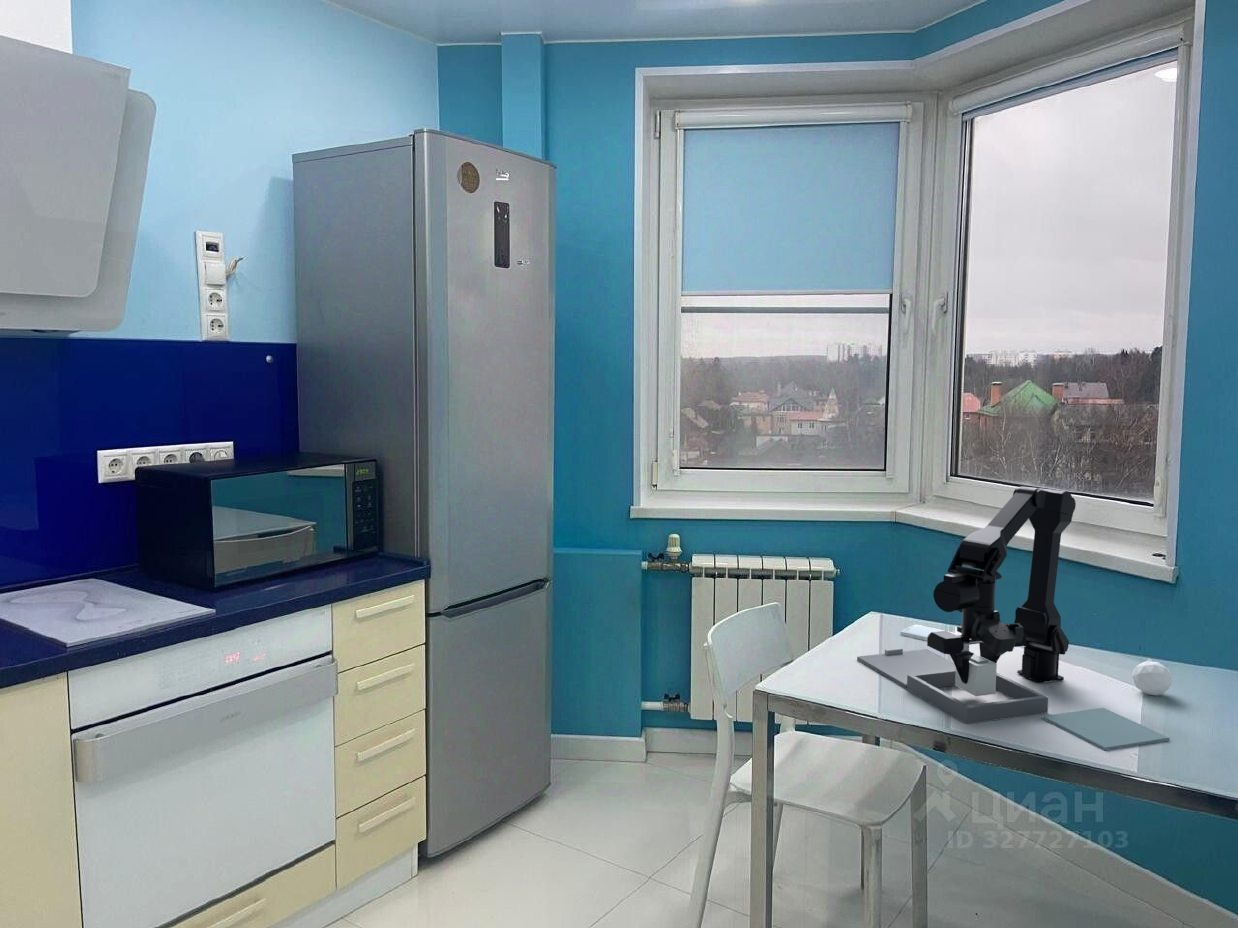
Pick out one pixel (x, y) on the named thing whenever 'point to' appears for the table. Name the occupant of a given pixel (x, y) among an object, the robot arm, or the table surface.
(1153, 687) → the ornament
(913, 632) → the hard drive
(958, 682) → the block
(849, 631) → the table surface
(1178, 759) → the table surface
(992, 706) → the case
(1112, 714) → the mat
